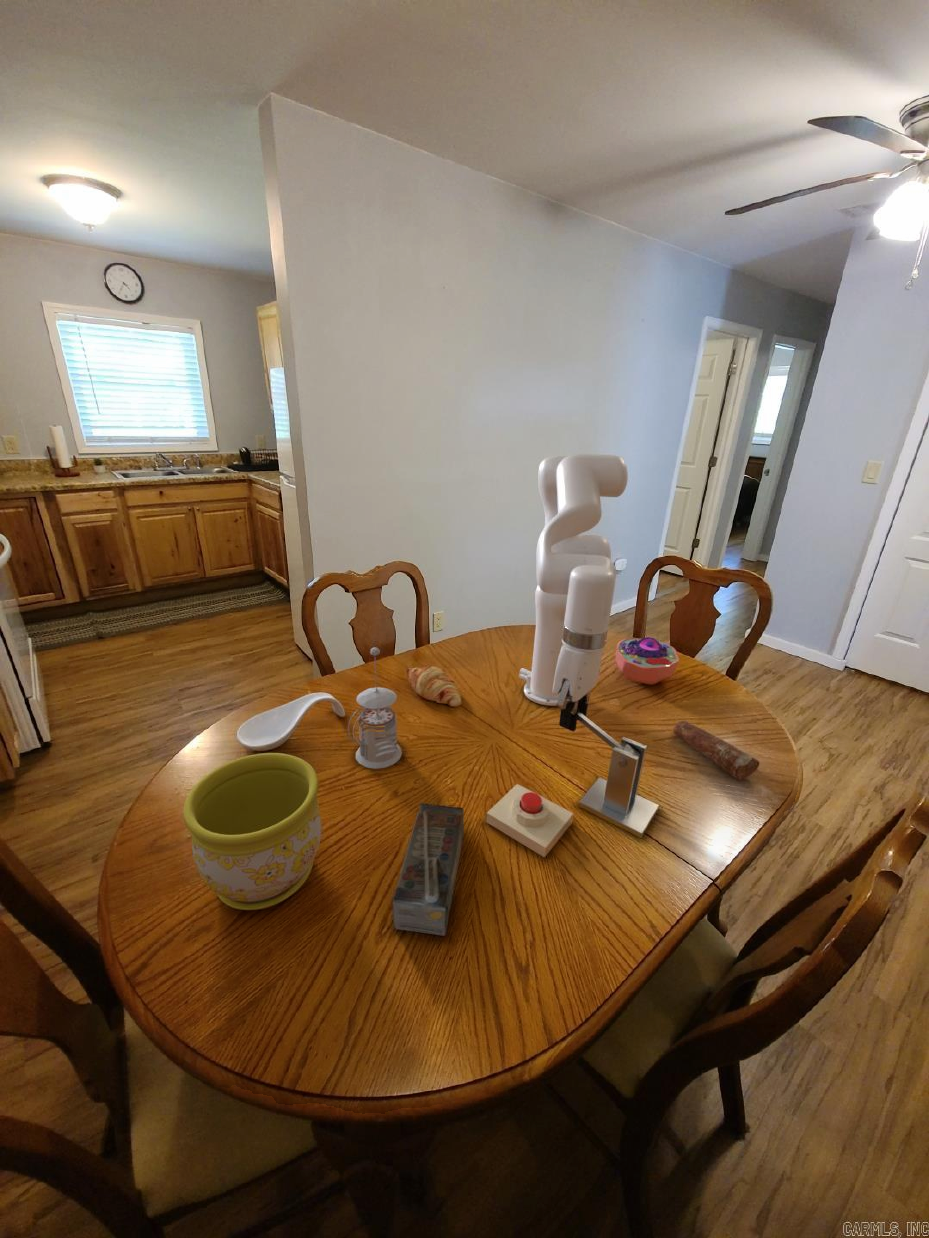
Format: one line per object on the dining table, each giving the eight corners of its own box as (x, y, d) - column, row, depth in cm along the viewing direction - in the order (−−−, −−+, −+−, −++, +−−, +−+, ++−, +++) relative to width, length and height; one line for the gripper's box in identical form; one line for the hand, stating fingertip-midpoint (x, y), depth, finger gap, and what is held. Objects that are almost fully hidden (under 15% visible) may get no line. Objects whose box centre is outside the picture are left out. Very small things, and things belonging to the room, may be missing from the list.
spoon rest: (252, 767, 101) (247, 737, 98) (230, 740, 109) (225, 712, 106) (353, 723, 117) (352, 696, 114) (327, 702, 124) (325, 677, 122)
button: (516, 807, 88) (517, 800, 88) (527, 796, 91) (528, 789, 90) (534, 817, 86) (535, 809, 86) (544, 806, 89) (545, 798, 88)
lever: (556, 712, 95) (563, 701, 93) (564, 705, 97) (571, 694, 95) (627, 771, 89) (636, 760, 87) (633, 762, 91) (642, 751, 89)
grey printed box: (390, 930, 70) (389, 897, 68) (419, 827, 88) (419, 798, 85) (446, 939, 69) (447, 905, 67) (464, 833, 87) (465, 803, 85)
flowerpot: (291, 940, 69) (279, 850, 62) (174, 915, 71) (151, 827, 65) (343, 839, 85) (337, 760, 79) (246, 822, 88) (233, 744, 81)
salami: (737, 787, 101) (744, 764, 99) (667, 734, 117) (671, 714, 115) (759, 779, 103) (766, 757, 101) (687, 728, 119) (692, 708, 117)
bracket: (578, 806, 94) (587, 745, 89) (598, 781, 101) (608, 723, 96) (641, 838, 87) (655, 775, 82) (658, 809, 94) (672, 749, 89)
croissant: (467, 716, 127) (479, 688, 126) (441, 714, 119) (454, 683, 119) (415, 683, 140) (425, 657, 140) (389, 679, 133) (400, 651, 132)
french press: (411, 753, 107) (410, 648, 97) (367, 779, 99) (361, 667, 89) (382, 734, 113) (379, 633, 103) (338, 757, 105) (330, 650, 96)
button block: (486, 822, 90) (487, 804, 88) (516, 792, 97) (517, 776, 95) (544, 857, 83) (546, 839, 81) (572, 822, 90) (574, 805, 89)
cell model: (600, 682, 139) (606, 645, 135) (624, 656, 154) (630, 623, 150) (663, 702, 130) (671, 663, 126) (681, 673, 145) (689, 637, 141)
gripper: (585, 617, 96) (574, 699, 103) (542, 644, 84) (532, 735, 91) (623, 628, 92) (608, 712, 99) (582, 658, 80) (569, 752, 87)
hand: (572, 722), depth 95 cm, fingers closed on lever, 3 cm apart
